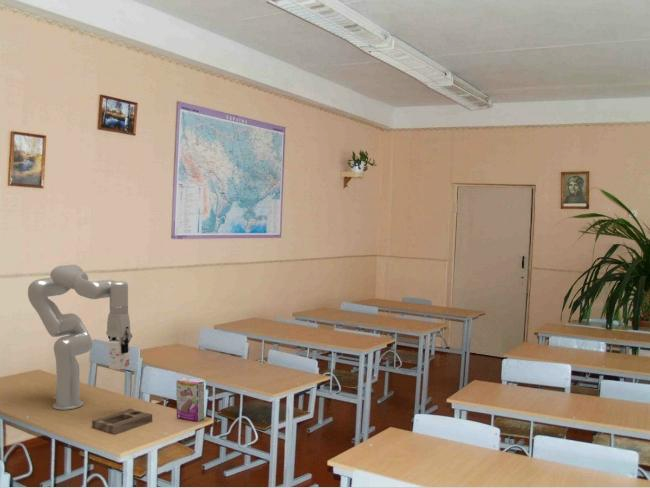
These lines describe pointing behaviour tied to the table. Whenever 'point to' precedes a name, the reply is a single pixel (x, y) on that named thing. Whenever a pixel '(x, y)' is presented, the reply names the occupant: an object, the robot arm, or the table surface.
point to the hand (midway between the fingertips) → (119, 351)
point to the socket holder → (121, 421)
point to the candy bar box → (190, 399)
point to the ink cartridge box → (117, 355)
